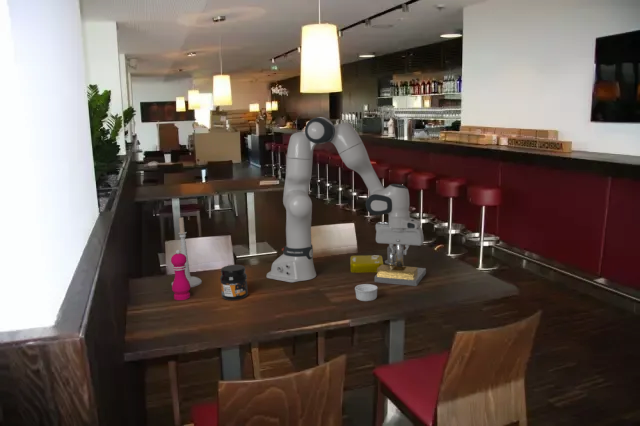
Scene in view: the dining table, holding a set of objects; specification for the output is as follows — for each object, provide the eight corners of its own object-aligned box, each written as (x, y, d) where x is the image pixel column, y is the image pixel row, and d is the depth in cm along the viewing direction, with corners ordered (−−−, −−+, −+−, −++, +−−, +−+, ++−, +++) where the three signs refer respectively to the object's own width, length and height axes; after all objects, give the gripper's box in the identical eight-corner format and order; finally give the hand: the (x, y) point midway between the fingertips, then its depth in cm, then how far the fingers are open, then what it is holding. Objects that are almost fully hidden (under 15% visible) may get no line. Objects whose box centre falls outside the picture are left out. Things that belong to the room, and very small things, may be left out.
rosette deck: (374, 282, 223) (374, 254, 221) (386, 270, 239) (386, 244, 237) (416, 286, 216) (416, 257, 214) (425, 273, 232) (425, 247, 230)
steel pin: (393, 266, 224) (393, 239, 221) (396, 264, 227) (396, 237, 225) (403, 267, 222) (402, 239, 220) (405, 264, 226) (405, 237, 223)
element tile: (350, 264, 252) (350, 254, 251) (382, 263, 251) (381, 254, 250) (350, 273, 238) (350, 263, 237) (383, 273, 237) (383, 262, 236)
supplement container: (224, 302, 205) (222, 273, 203) (219, 294, 214) (217, 266, 212) (251, 298, 209) (249, 269, 206) (244, 290, 218) (242, 262, 216)
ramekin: (351, 296, 207) (351, 285, 206) (371, 292, 210) (371, 282, 209) (360, 303, 199) (360, 292, 198) (381, 299, 202) (381, 289, 201)
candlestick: (178, 290, 222) (171, 220, 216) (167, 283, 232) (161, 216, 227) (206, 283, 229) (201, 216, 224) (194, 277, 239) (189, 212, 234)
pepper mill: (172, 301, 208) (168, 253, 204) (172, 296, 215) (168, 248, 211) (191, 299, 210) (187, 251, 206) (191, 293, 217) (187, 246, 213)
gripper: (373, 222, 222) (374, 254, 225) (421, 225, 214) (421, 257, 217) (377, 219, 228) (378, 250, 231) (424, 221, 220) (424, 253, 223)
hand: (399, 254), depth 224 cm, fingers closed on steel pin, 3 cm apart
